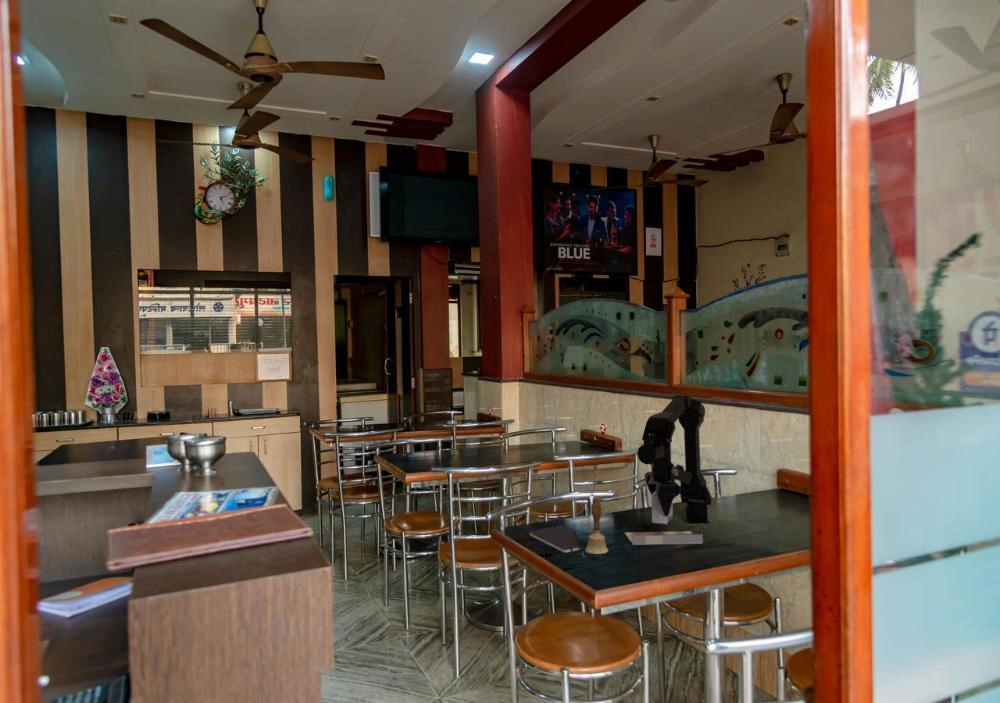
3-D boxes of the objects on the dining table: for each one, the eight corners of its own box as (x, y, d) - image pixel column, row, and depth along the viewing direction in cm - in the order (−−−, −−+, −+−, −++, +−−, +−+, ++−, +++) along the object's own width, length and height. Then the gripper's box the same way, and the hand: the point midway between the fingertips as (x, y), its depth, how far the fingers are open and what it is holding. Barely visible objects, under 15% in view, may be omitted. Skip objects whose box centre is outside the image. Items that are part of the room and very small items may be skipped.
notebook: (601, 547, 183) (561, 530, 202) (600, 542, 183) (561, 525, 202) (564, 554, 177) (527, 536, 196) (564, 549, 177) (527, 531, 196)
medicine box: (667, 524, 180) (666, 495, 179) (651, 523, 182) (651, 493, 182) (673, 517, 187) (672, 488, 186) (658, 516, 189) (657, 487, 189)
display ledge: (690, 536, 190) (690, 531, 190) (702, 548, 178) (702, 543, 178) (624, 537, 191) (624, 532, 191) (633, 549, 179) (632, 544, 179)
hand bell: (609, 550, 179) (608, 494, 179) (614, 560, 170) (612, 501, 170) (580, 550, 179) (579, 495, 179) (583, 560, 170) (582, 502, 171)
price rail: (701, 542, 179) (701, 533, 179) (702, 543, 178) (702, 534, 178) (632, 543, 179) (632, 535, 179) (633, 544, 178) (632, 536, 178)
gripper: (698, 464, 175) (699, 519, 175) (679, 453, 193) (680, 503, 193) (658, 465, 175) (660, 520, 175) (643, 453, 193) (644, 504, 193)
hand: (662, 511), depth 184 cm, fingers closed on medicine box, 9 cm apart
